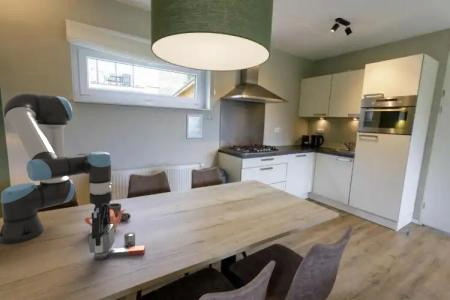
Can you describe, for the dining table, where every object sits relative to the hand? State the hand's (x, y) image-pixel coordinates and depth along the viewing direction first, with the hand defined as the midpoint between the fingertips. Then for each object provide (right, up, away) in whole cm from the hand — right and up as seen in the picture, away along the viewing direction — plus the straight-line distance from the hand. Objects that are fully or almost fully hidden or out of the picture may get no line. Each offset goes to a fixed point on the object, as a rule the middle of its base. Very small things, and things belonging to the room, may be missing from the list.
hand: (102, 246), depth 90 cm
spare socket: (+7, -3, +9) cm, 12 cm away
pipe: (-9, 0, +33) cm, 35 cm away
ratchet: (+6, -4, +2) cm, 8 cm away
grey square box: (0, 0, 0) cm, 0 cm away
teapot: (-9, -1, +21) cm, 23 cm away
